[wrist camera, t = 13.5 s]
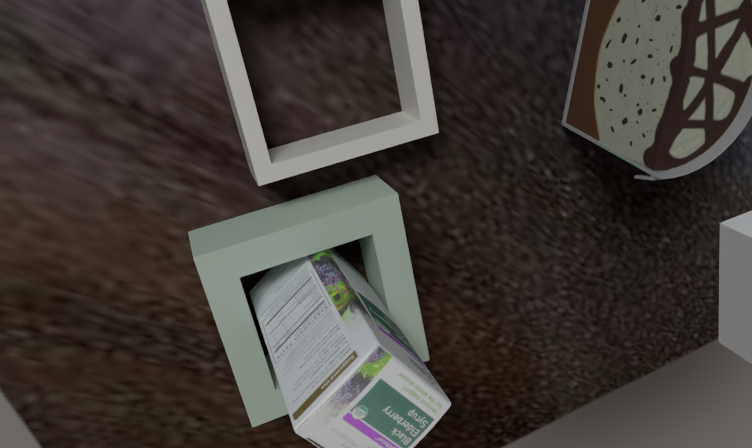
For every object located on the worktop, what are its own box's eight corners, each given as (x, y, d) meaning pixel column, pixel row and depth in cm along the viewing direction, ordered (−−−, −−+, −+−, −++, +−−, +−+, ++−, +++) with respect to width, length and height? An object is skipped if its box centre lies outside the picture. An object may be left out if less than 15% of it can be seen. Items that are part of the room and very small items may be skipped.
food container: (628, 148, 47) (741, 189, 39) (556, 146, 45) (658, 188, 36) (671, -33, 43) (808, -35, 35) (595, -45, 41) (719, -50, 32)
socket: (375, 174, 42) (397, 193, 38) (407, 330, 46) (429, 359, 43) (188, 231, 39) (193, 257, 35) (243, 390, 44) (252, 427, 40)
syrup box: (366, 277, 44) (461, 402, 31) (306, 340, 44) (376, 491, 31) (307, 226, 41) (384, 340, 28) (243, 293, 41) (291, 437, 29)
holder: (387, -65, 37) (407, -68, 34) (419, 122, 41) (438, 132, 39) (194, -23, 34) (199, -23, 32) (250, 171, 39) (258, 186, 36)
